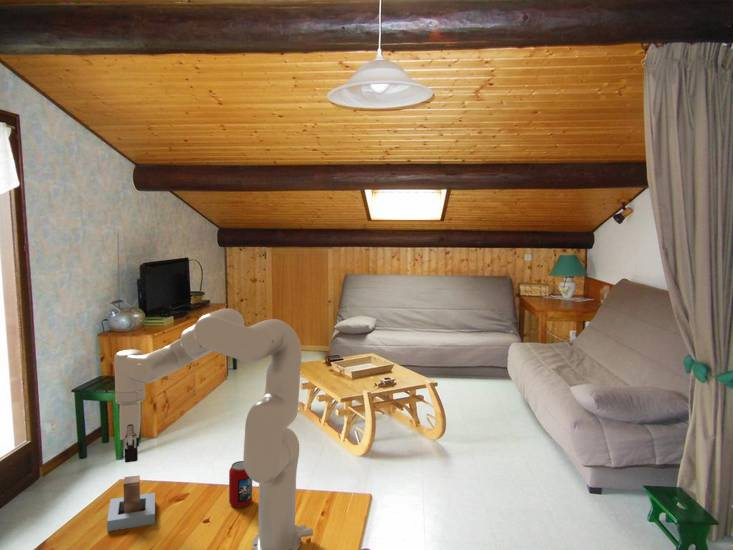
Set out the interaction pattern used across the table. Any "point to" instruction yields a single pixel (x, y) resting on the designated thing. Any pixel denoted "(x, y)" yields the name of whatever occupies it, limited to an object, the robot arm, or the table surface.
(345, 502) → the table surface
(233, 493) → the beverage can
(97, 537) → the table surface
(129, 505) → the walnut peg
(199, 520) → the table surface
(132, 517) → the grey square frame
